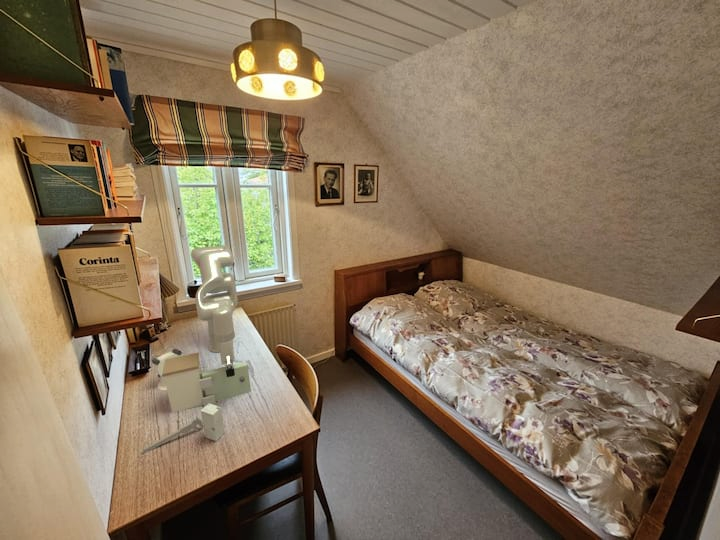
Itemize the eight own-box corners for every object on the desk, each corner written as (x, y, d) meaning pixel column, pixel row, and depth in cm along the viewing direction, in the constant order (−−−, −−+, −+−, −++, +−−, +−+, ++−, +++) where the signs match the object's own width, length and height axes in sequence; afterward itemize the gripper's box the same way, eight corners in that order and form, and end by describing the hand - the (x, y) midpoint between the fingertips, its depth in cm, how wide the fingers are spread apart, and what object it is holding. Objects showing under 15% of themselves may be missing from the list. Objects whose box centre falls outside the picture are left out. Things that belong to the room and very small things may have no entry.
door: (207, 399, 136) (202, 372, 132) (250, 387, 143) (246, 361, 139) (207, 405, 133) (202, 377, 128) (251, 393, 140) (248, 366, 136)
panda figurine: (178, 371, 155) (172, 345, 150) (191, 379, 149) (186, 351, 145) (152, 385, 145) (145, 357, 140) (166, 393, 139) (159, 365, 135)
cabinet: (173, 396, 138) (165, 359, 132) (215, 386, 144) (209, 350, 138) (170, 416, 127) (161, 376, 121) (215, 403, 133) (209, 365, 128)
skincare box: (204, 436, 117) (199, 410, 113) (213, 428, 121) (208, 402, 117) (216, 441, 115) (211, 415, 111) (225, 432, 119) (221, 406, 115)
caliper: (203, 427, 121) (200, 414, 120) (203, 429, 121) (201, 416, 119) (140, 453, 111) (136, 439, 109) (140, 455, 110) (136, 441, 108)
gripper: (214, 327, 136) (220, 360, 142) (215, 347, 121) (221, 384, 127) (233, 324, 139) (237, 356, 145) (236, 343, 124) (241, 379, 130)
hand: (230, 369), depth 136 cm, fingers open, 9 cm apart
